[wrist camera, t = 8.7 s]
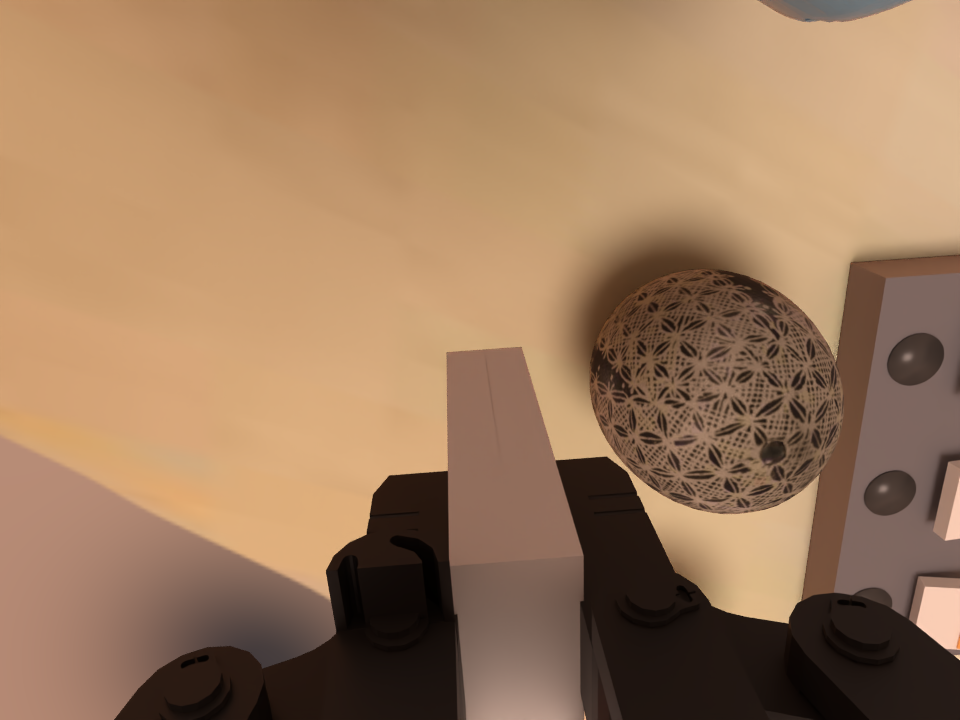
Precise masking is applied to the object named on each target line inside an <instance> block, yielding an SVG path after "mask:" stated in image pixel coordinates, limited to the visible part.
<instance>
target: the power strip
mask: <svg viewBox="0 0 960 720" xmlns="http://www.w3.org/2000/svg"><path fill="white" fill-rule="evenodd" d="M836 365H837V367H838V370H839V374H840V378H841V383H842V389H843V395H844V416H843V422H842V428H841V432H840V435H839V438H838V441H837V444H836V447H835V449H834V451H833V453H832V455H831V457H830V459H829V461H828V462H827V464H826V465H825V467H824V468H823V470H822V471H821V472H820V479H819V486H818V493H817V500H816V507H815V514H814V521H813V527H812V534H811V541H810V548H809V555H808V562H807V569H806V576H805V582H804V589H803V596H802V601H803V600H805V599H807V598H808V597H810V596H812V595H818V594H827V593H842V594H849V595H856V596H862V597H864V598H867V599H870V600H873V601H875V602H878V603H881V604H883V605H886V606H888V607H890V608H891V609H893V610H895V611H896V612H898V613H899V614H901V615H902V616H904V617H906V618H907V619H909V617H910V612H911V607H912V603H913V598H914V594H915V589H916V585H917V580H918V576H923V577H941V578H960V539H954V540H947V541H945V540H943V539H942V538H941V537H940V536H938V535H937V534H936V533H935V532H933V528H934V524H935V519H936V515H937V510H938V506H939V502H940V497H941V493H942V488H943V484H944V479H945V475H946V470H947V466H948V462H950V461H958V460H960V255H954V256H940V257H925V258H911V259H897V260H883V261H869V262H855V263H851V266H850V273H849V280H848V287H847V294H846V301H845V308H844V314H843V321H842V328H841V335H840V342H839V349H838V356H837V363H836ZM946 650H947V651H949V652H950V653H951V654H952V655H960V650H955V649H946Z"/></svg>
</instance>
